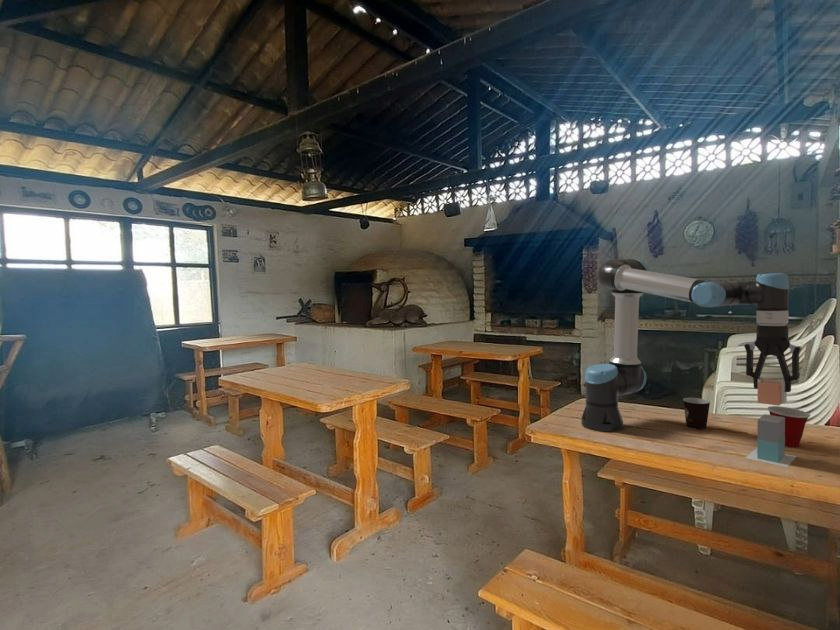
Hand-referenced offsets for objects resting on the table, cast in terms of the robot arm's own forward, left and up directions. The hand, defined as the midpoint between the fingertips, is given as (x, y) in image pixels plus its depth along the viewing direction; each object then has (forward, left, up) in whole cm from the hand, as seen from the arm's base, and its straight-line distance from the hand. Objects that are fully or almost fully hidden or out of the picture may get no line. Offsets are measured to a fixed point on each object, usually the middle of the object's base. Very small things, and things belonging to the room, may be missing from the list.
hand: (771, 400), depth 133 cm
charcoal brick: (0, 0, -11) cm, 11 cm away
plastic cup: (+1, +17, -18) cm, 25 cm away
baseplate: (0, 0, -18) cm, 18 cm away
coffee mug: (-27, +20, -18) cm, 38 cm away
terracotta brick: (0, 0, 0) cm, 0 cm away
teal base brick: (0, 0, -17) cm, 17 cm away
